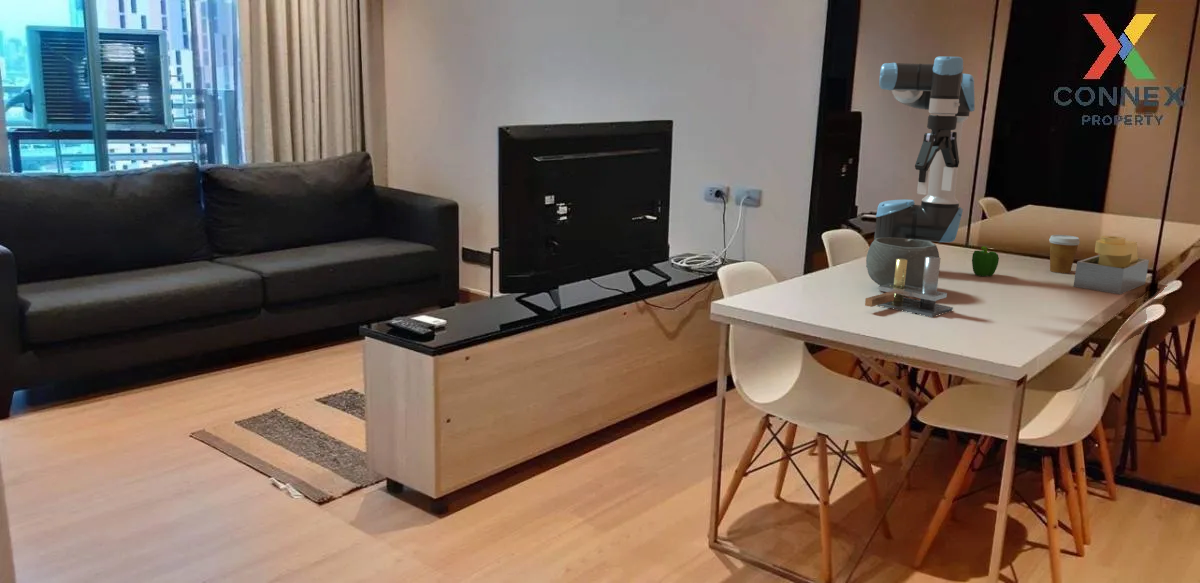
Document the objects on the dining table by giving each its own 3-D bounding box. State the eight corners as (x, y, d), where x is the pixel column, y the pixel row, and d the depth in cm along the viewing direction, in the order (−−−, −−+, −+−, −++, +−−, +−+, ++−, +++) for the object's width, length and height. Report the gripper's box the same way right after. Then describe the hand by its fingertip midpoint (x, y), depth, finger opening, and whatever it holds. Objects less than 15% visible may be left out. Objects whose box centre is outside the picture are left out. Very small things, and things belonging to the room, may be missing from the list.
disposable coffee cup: (1081, 272, 317) (1086, 238, 314) (1065, 275, 311) (1070, 240, 309) (1054, 267, 324) (1059, 233, 322) (1039, 270, 319) (1043, 235, 316)
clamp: (1116, 292, 288) (1124, 241, 285) (1084, 286, 295) (1092, 237, 291) (1137, 283, 302) (1145, 234, 298) (1106, 278, 308) (1114, 231, 305)
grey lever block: (854, 310, 255) (859, 256, 252) (894, 298, 270) (900, 248, 267) (913, 323, 243) (919, 267, 240) (952, 310, 258) (958, 257, 255)
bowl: (860, 293, 276) (865, 244, 273) (866, 280, 295) (870, 233, 292) (935, 301, 269) (941, 250, 266) (936, 287, 288) (942, 239, 285)
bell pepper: (984, 272, 313) (988, 243, 311) (1001, 277, 305) (1005, 247, 303) (963, 273, 310) (967, 243, 308) (980, 278, 303) (984, 248, 300)
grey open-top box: (1073, 286, 294) (1077, 261, 293) (1100, 276, 311) (1103, 253, 309) (1120, 294, 285) (1124, 268, 283) (1145, 284, 301) (1149, 259, 299)
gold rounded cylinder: (890, 300, 263) (894, 259, 261) (895, 299, 265) (899, 258, 263) (899, 302, 261) (904, 261, 259) (905, 301, 263) (909, 259, 261)
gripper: (932, 116, 242) (924, 197, 248) (977, 114, 259) (968, 190, 264) (906, 114, 248) (898, 194, 253) (952, 112, 264) (943, 187, 269)
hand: (934, 192), depth 259 cm, fingers open, 13 cm apart
